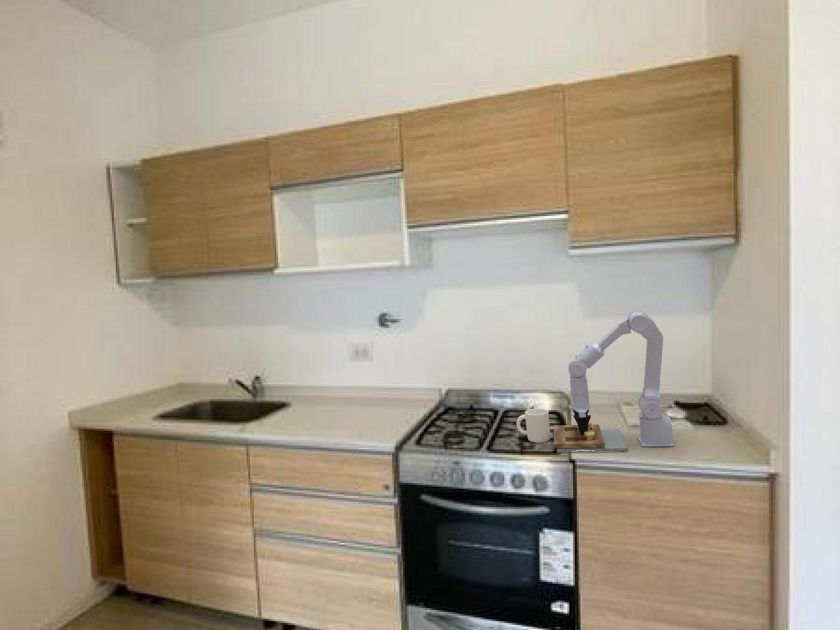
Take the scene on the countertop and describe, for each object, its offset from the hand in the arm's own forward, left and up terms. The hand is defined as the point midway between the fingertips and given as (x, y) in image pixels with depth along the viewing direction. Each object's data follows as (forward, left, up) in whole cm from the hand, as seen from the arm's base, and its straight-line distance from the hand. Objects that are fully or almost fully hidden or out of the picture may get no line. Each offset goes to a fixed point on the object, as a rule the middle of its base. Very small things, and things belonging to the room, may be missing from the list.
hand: (583, 431), depth 166 cm
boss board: (-2, 0, -4) cm, 4 cm away
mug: (+17, -4, -4) cm, 18 cm away
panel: (+2, 0, -2) cm, 3 cm away
